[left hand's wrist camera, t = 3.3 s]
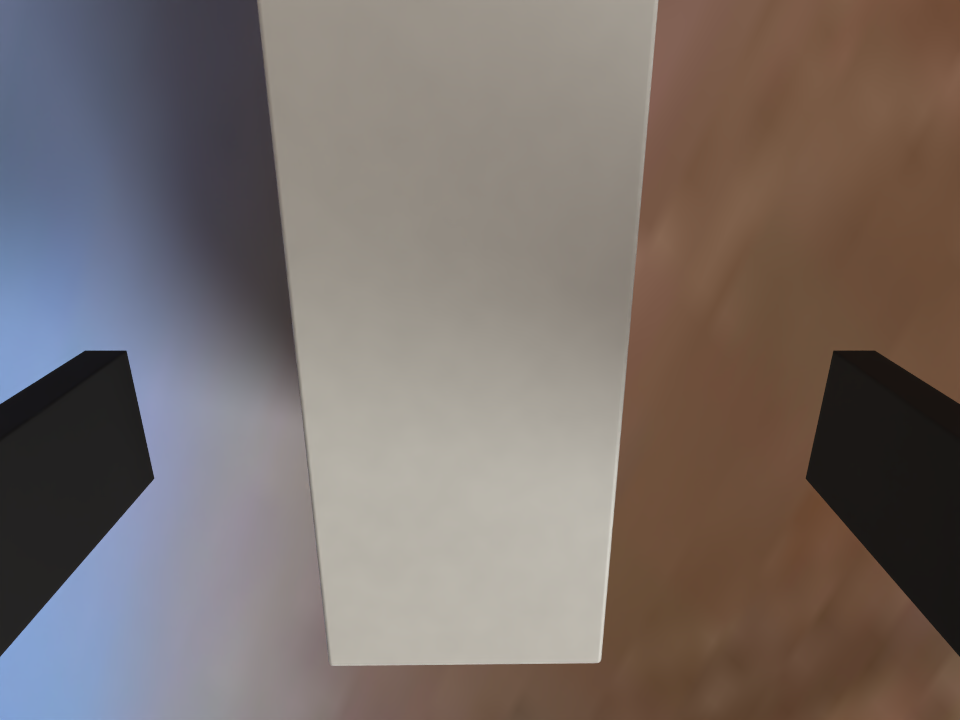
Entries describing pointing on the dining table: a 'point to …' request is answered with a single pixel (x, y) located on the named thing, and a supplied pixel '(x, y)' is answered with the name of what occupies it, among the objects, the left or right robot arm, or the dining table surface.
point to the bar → (460, 310)
